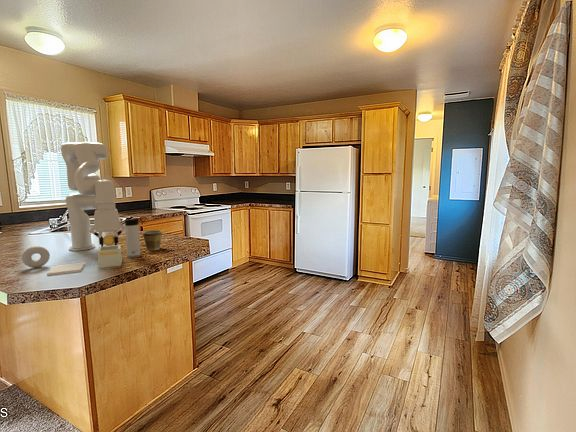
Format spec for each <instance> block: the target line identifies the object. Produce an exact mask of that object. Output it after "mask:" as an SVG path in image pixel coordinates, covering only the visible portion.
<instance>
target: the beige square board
mask: <svg viewBox="0 0 576 432" xmlns="http://www.w3.org/2000/svg"><path fill="white" fill-rule="evenodd" d="M85 266H86V262H78V263H77V262H76V263H68V264H59V265H58V264H57V265H53V266H52V267H51V268H50V269H48V270H49V271H47V272H46V275H47V276H56V275H63V274H64V273H65V274H71V273H73V274H74V273H81V272H82V270H83V269H84V267H85ZM65 274H64V275H65Z"/></svg>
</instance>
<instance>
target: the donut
mask: <svg viewBox="0 0 576 432" xmlns="http://www.w3.org/2000/svg"><path fill="white" fill-rule="evenodd" d="M35 254H38V255H39V256H40V257H39V259H36V260H35V259H33V258H32V257H33V255H35ZM50 258H51V257H50V252H49V250H48V249H47V248H45V247H43V246H39V245H35V246H31V247H28V248H27V249H26V250H25V251H23V253H22V255H21V261H22V263H23V264H24V265H25V266H26V267H28V268H32V269H33V268H34V269H35V268H36V269H37V268H40V267H43V266H45V265H46V264H47V263H49V260H50Z"/></svg>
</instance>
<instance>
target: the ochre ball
mask: <svg viewBox="0 0 576 432" xmlns="http://www.w3.org/2000/svg"><path fill="white" fill-rule="evenodd" d="M114 237H115V236H113V235H111V234H107V235H105V236H104V237H103V244H104V245H105V246H113V245H115V241H114Z"/></svg>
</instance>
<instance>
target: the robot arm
mask: <svg viewBox="0 0 576 432" xmlns="http://www.w3.org/2000/svg"><path fill="white" fill-rule="evenodd" d="M60 153H61V156H62V159H63V161H64V163H65V166H66V178H67V179H66V180H67V186H68V188H69V190H70V191H73V192H75V193H69V194H68V195H67V196H66V197H65V204H66V209H67V212H68V220H69V229H70V235H71V237H70V238H71V246H69V248H68V250H69V251H73V252H74V251H75V252H76V251H77V252H78V251H87V250H91V249H94V248H96V245H95V244H93V242H92V235H94V236H95V237H96V238H98V243H99V246H100V247H103V246H104V245H105V244H104V243H103V238H104V237H103V233H109V232H110V233H112V232H113V233H114V236H113V237H114V241H115V242H114V246H115V245H118V244H119V236H120V235H121V234H122V233H123V232H125V229H126V228H125V225H123V224H122V223H121V221H120V220H121V219H120V215H119V211H118V209H117V208H116V198H115V197H116V196H115V184H114V182H113V180H109V179H105V178H103V179H101V177H100V175H98V174H96V172H98V171H99V170H100V169H101V163H100V160H101V161H103V160H106V159H107V158H108V155H109V154H108V153H109V152H108V149H107V146H106V145H105V144H104V143H100V142H89V141H82V142H66V143H65V142H64V143H62V144H61V147H60ZM76 192H78V193H76ZM89 210H94V213H93V214H94V215H93V216H94V217H93V223H94V225H93V226H92V227H91V219H90V216H89V215H88V214H87V213H86V212H85V211H89Z"/></svg>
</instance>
